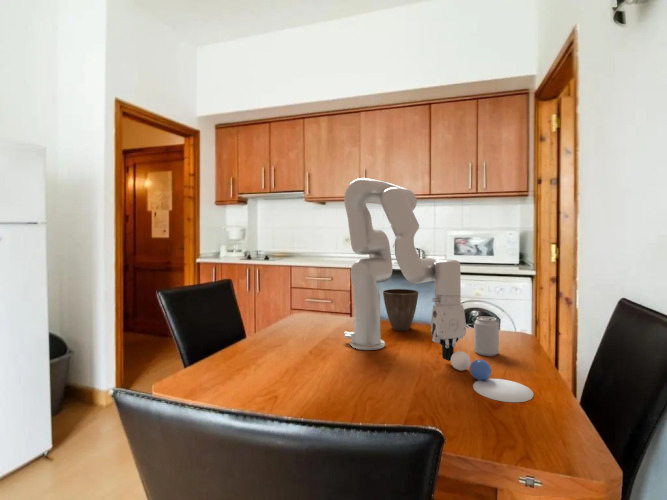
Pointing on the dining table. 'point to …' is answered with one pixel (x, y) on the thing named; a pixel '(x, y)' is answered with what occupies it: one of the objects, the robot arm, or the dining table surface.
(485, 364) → the object ball
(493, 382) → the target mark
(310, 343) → the dining table surface
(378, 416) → the dining table surface
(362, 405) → the dining table surface
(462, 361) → the cue ball
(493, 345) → the can
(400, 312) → the plant pot
